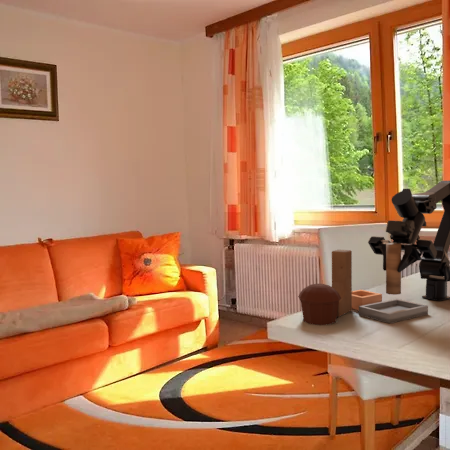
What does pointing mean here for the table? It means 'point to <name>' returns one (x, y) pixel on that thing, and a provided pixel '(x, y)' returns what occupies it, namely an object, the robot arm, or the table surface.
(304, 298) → the muffin
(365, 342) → the table surface
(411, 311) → the tray
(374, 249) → the robot arm
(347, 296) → the wooden block
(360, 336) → the table surface
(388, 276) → the dowel pin
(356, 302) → the orange square ring
